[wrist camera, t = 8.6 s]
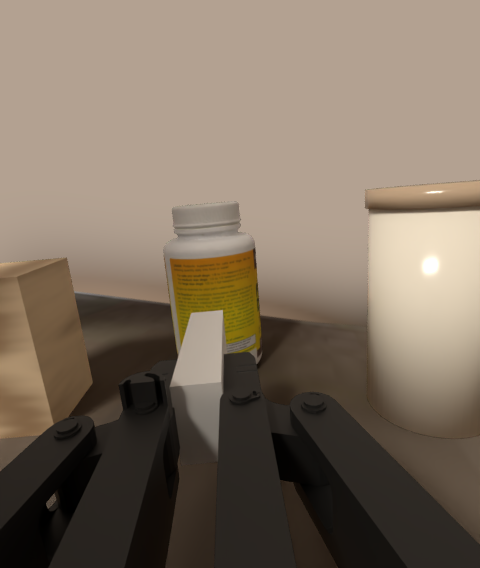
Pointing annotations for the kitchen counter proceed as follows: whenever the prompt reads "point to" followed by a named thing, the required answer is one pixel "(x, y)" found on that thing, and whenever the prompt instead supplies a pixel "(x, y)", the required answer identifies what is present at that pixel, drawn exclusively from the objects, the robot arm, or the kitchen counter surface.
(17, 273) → the beech block
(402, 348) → the cream jar
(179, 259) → the supplement bottle
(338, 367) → the kitchen counter surface
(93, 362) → the kitchen counter surface
